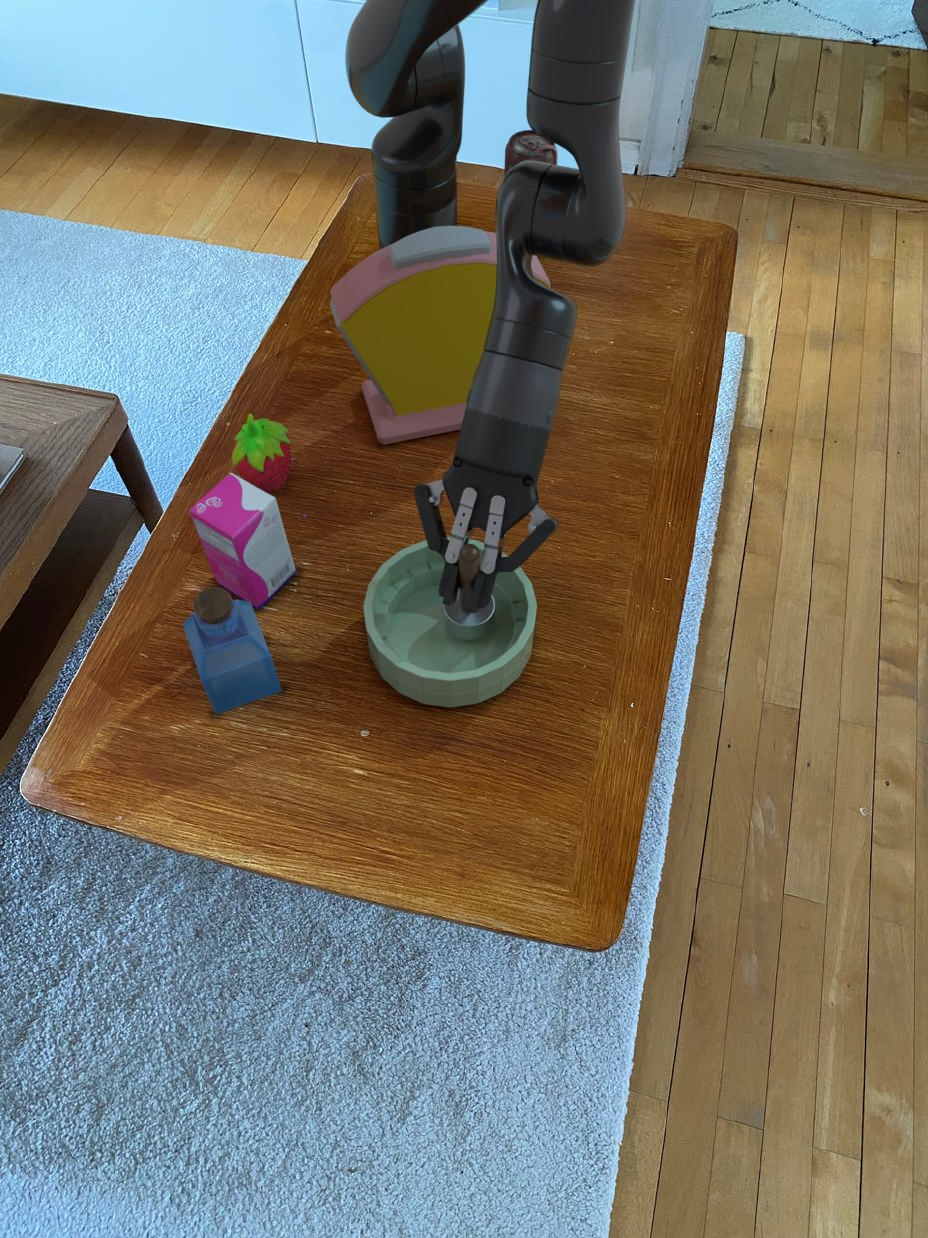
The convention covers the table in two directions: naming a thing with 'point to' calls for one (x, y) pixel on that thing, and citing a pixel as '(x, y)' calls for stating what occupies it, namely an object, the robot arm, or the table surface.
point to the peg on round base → (468, 600)
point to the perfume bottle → (229, 650)
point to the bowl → (444, 632)
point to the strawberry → (262, 453)
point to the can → (528, 149)
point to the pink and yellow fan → (420, 326)
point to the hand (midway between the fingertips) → (461, 606)
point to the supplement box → (244, 540)
